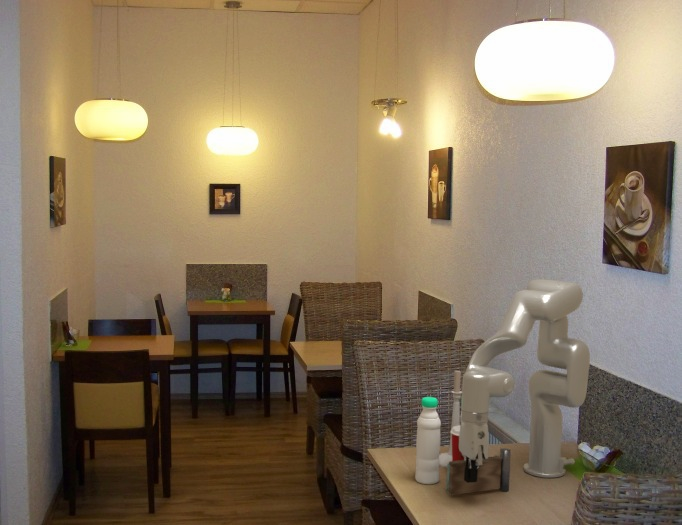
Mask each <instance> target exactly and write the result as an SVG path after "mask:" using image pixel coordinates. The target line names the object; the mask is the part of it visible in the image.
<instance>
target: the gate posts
mask: <svg viewBox="0 0 682 525" xmlns="http://www.w3.org/2000/svg"><path fill="white" fill-rule="evenodd" d="M511 450H512V449H510V448H507V447H502V448H499V457H501V458H502V462H501V476H500V488H499V489H498V491H499V492H502V493H508V492H509V491H510V479H511V478H510V475H511V452H512V451H511ZM449 466H450V465H449V463H447V468H446V491H447V492H448V493H449Z"/></svg>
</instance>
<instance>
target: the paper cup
mask: <svg viewBox="0 0 682 525" xmlns="http://www.w3.org/2000/svg"><path fill="white" fill-rule="evenodd" d="M460 426H461V425H460ZM460 426H454V427H453V428H452V429H451V428H450V431H449V432H450V434H451V433H452V461H458V460H464V457H463V455H462V453H461V452H460V450H459V434H460Z"/></svg>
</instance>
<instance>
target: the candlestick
mask: <svg viewBox="0 0 682 525" xmlns="http://www.w3.org/2000/svg"><path fill="white" fill-rule="evenodd" d="M453 375H454V376H453V377H454V378H453V390H451V391H450V392H451V393H452V399H453V403H452V404H453V405H452V413H451V414H452V415H451V416H452V417H451V427H450V430H451V429H452V428H453V427H454V426H461V421H460V420H461V409H460V408H461V406H460V404H461V403H460V399H462V390H461V375H462V372H461V371H460V370H454V374H453ZM449 439H450V440H449V448H448V451H447V452H442V453H440V454H439V461H440V464H439V467H441V468H446V469H447V463H449V462H450V461H452V433H450V438H449Z"/></svg>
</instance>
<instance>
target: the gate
mask: <svg viewBox="0 0 682 525" xmlns="http://www.w3.org/2000/svg"><path fill="white" fill-rule="evenodd" d="M501 462H502V458H501V457H500V455H495V456H488V459H487V460H485V459H483V458H482V466H479V468H478V473H477V482H470V483H467V482H466V481H465V480H464V473H465V467H466V466H465V465H464V460H458V461H450V462H449V465H450V466H449V492H448V494H449V495H459V494H467V493H468V494H469V493H474V492H476V493H477V492H481V491H491V490H499V488H500V476H501Z"/></svg>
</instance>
